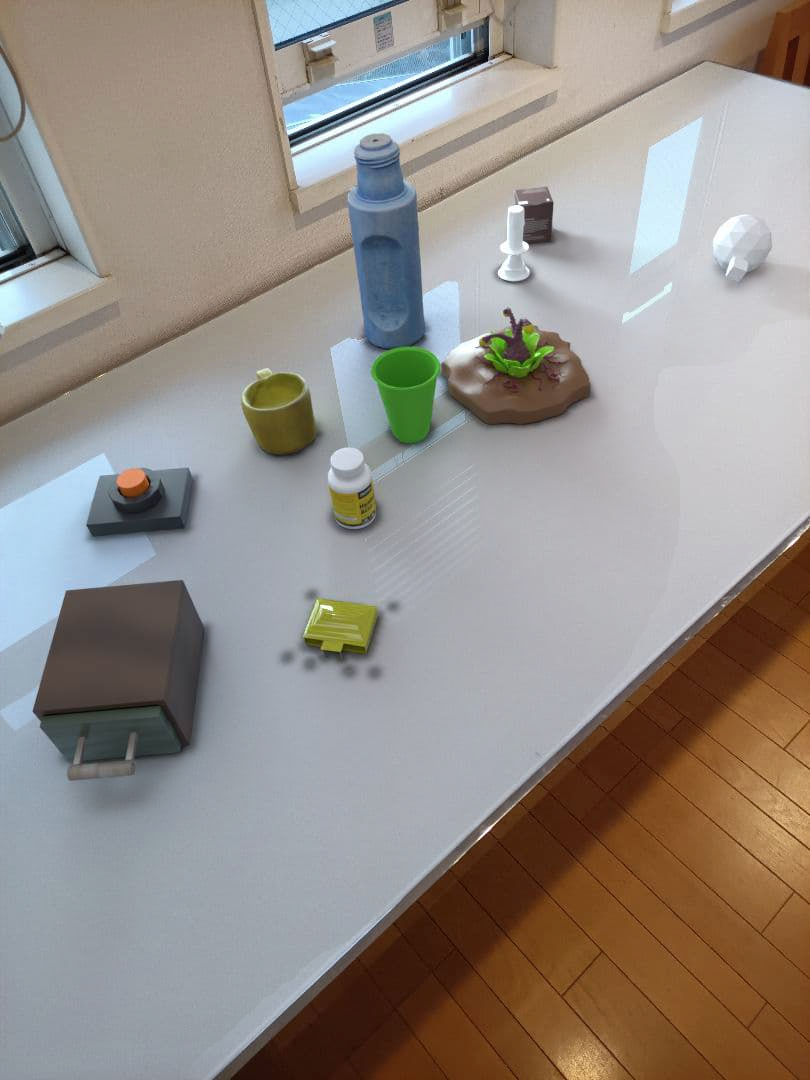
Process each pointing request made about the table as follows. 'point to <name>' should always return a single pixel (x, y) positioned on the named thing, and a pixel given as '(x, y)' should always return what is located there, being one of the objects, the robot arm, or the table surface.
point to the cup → (407, 390)
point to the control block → (141, 504)
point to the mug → (279, 412)
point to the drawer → (110, 738)
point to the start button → (132, 482)
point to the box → (536, 213)
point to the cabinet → (125, 652)
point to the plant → (515, 374)
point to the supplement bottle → (351, 489)
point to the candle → (514, 247)
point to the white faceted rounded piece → (742, 245)
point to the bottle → (386, 245)
